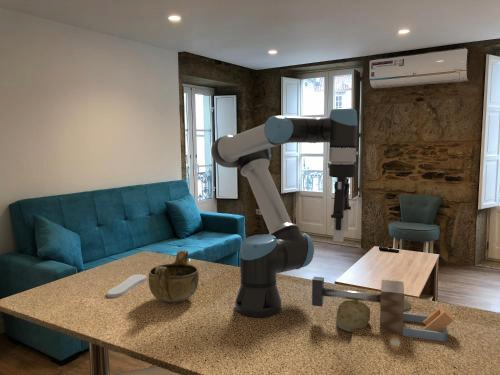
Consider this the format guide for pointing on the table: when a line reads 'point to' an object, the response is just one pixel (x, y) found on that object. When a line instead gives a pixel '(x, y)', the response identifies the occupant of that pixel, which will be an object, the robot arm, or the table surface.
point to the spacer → (438, 320)
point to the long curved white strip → (126, 285)
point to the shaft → (338, 293)
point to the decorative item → (352, 315)
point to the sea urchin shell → (405, 304)
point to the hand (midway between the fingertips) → (341, 235)
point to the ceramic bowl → (174, 280)
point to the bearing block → (392, 307)
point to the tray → (422, 333)
